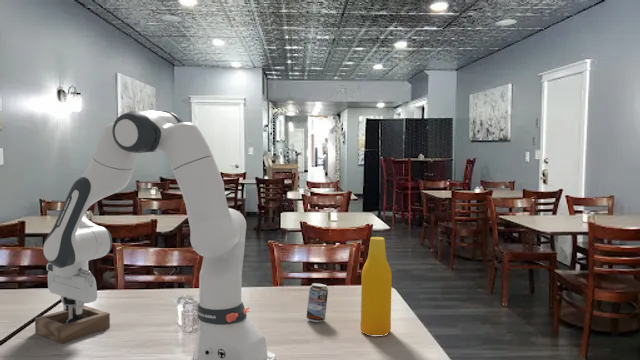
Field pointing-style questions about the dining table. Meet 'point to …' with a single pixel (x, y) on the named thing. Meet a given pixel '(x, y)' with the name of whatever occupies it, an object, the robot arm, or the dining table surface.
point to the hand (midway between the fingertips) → (72, 311)
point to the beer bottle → (376, 290)
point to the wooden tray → (71, 324)
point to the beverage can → (317, 302)
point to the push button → (71, 310)
